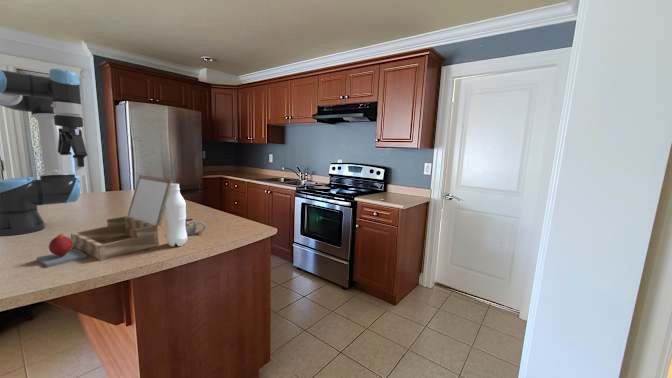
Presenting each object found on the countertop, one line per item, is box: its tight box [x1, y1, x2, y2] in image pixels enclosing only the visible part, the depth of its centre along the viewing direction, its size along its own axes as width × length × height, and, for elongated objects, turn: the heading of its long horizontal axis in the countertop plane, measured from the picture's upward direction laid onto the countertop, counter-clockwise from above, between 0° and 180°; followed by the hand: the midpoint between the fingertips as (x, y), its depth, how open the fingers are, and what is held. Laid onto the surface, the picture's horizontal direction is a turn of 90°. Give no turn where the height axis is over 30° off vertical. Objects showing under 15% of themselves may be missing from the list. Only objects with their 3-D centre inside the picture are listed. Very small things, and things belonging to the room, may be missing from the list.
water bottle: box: [165, 183, 188, 247], centre depth 111 cm, size 7×7×25 cm
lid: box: [127, 174, 174, 227], centre depth 118 cm, size 25×19×1 cm
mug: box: [185, 218, 206, 236], centre depth 126 cm, size 12×7×7 cm, turn 86°
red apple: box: [48, 232, 74, 256], centre depth 94 cm, size 6×6×8 cm
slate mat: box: [36, 248, 88, 268], centre depth 95 cm, size 10×10×1 cm
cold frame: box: [70, 215, 159, 261], centre depth 109 cm, size 25×19×8 cm
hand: (73, 173), depth 103 cm, fingers open, 13 cm apart
